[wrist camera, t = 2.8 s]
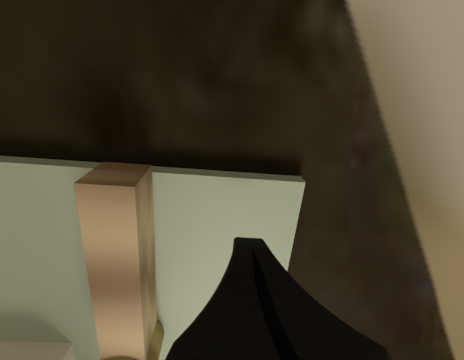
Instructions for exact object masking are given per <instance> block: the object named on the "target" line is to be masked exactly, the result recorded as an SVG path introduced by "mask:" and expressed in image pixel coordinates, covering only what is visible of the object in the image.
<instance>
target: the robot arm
mask: <svg viewBox="0 0 464 360" xmlns="http://www.w3.org/2000/svg"><path fill="white" fill-rule="evenodd" d="M165 360H393V358H392V357H391V355H390V354H389V352H388V351H387V349H386V348H385V347H383V346H381V345H380V344H378V343H376V342H375V341H373V340H371V339H370V338H368V337H366V336H365V335H363V334H361V333H360V332H358V331H356V330H355V329H353V328H352V327H350V326H349V325H348V324H346V323H345V322H343V321H342V320H340V319H339V318H337V317H336V316H335V315H333V314H332V313H331V312H329V311H328V310H327V309H326V308H324V307H323V306H322V305H321V304H319V303H318V302H317V301H316V300H315V299H314V298H312V297H311V296H310V295H309V294H308V293H307V292H306V291H305V290H304V289H303V288H302V287H301V286H300V285H299V284H298V283H297V282H296V281H295V280H294V279H293V278H292V277H291V276H290V274H289V273H288V272H287V271H286V270H285V268H284V267H283V266H282V265H281V263H280V262H279V261H278V260H277V258H276V257H275V256H274V254H273V253H272V252H271V250H270V249H269V247H268V246H267V244H266V243H265V242H264V240H263V239H262V238H245V237H236V238H234V242H233V252H232V255H231V258H230V261H229V264H228V266H227V269H226V271H225V273H224V275H223V277H222V279H221V281H220V283H219V285H218V287H217V289H216V290H215V292H214V294H213V295H212V297H211V298H210V300H209V301H208V303H207V304H206V306H205V307H204V308H203V310H202V311H201V312H200V313H199V315H198V316H197V317H196V318H195V320H194V321H193V322H192V323H191V324H190V326H189V327H188V328H187V329H186V330H185V331H184V332H183V333H182V334H181V335H180V336H179V337H178V338H177V339H176V340H175V341H174V343H173V345H172V346H171V348H170V350H169V352H168V354H167V356H166V359H165Z"/></svg>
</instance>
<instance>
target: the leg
mask: <svg viewBox="0 0 464 360" xmlns="http://www.w3.org/2000/svg"><path fill="white" fill-rule="evenodd" d="M74 190H75V196H76V203H77V209H78V216H79V222H80V229H81V236H82V242H83V249H84V255H85V262H86V268H87V275H88V281H89V288H90V294H91V301H92V307H93V314H94V320H95V327H96V333H97V340H98V347H99V353H100V360H159V356H160V351H161V347H162V342H163V338H164V330H163V328H162V326H161V325H160V324H159V323H158V322H157V313H156V280H155V248H154V216H153V184H152V165H145V164H130V163H116V162H102V163H100V164H99V165H98V166H96V167H95V168H94V169H92V170H91V171H89V172H88V173H87V174H85V175H84V176H83V177H81V178H80V179H79V180H77V181H76V182H74Z"/></svg>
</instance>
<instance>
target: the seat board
mask: <svg viewBox="0 0 464 360" xmlns="http://www.w3.org/2000/svg"><path fill="white" fill-rule="evenodd" d="M99 164H100V162H85V161H71V160H56V159H41V158H27V157H12V156H0V341H25V342H62V343H72V344H73V349H74V354H75V358H76V360H100V353H99V347H98V340H97V333H96V327H95V320H94V314H93V307H92V301H91V294H90V288H89V281H88V275H87V268H86V262H85V255H84V249H83V242H82V236H81V229H80V222H79V216H78V209H77V203H76V196H75V190H74V182H76V181H77V180H79V179H80V178H81V177H83V176H84V175H85V174H87V173H88V172H89V171H91V170H92V169H94V168H95V167H96V166H98V165H99ZM152 184H153V216H154V248H155V280H156V313H157V322H158V323H159V324H160V325H161V326H162V328H163V330H164V338H163V342H162V347H161V351H160V356H159V360H165V359H166V356H167V354H168V352H169V350H170V348H171V346H172V345H173V343H174V341H175V340H176V339H177V338H178V337H179V336H180V335H181V334H182V333H183V332H184V331H185V330H186V329H187V328H188V327H189V326H190V324H191V323H192V322H193V321H194V320H195V318H196V317H197V316H198V315H199V313H200V312H201V311H202V310H203V308H204V307H205V306H206V304H207V303H208V301H209V300H210V298H211V297H212V295H213V294H214V292H215V290H216V289H217V287H218V285H219V283H220V281H221V279H222V277H223V275H224V273H225V271H226V269H227V266H228V264H229V261H230V258H231V255H232V252H233V242H234V238H236V237H245V238H262V239H263V240H264V242H265V243H266V244H267V246H268V247H269V249H270V250H271V252H272V253H273V254H274V256H275V257H276V258H277V260H278V261H279V262H280V263H281V265H282V266H283V267H284V268H285V270H286V271H287V270H288V265H289V260H290V255H291V250H292V246H293V241H294V236H295V231H296V226H297V221H298V216H299V211H300V207H301V202H302V197H303V192H304V187H305V181H304V180H303V179H302V177H301V176H290V175H275V174H261V173H246V172H231V171H217V170H202V169H187V168H173V167H158V166H152Z"/></svg>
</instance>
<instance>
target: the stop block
mask: <svg viewBox="0 0 464 360" xmlns="http://www.w3.org/2000/svg"><path fill="white" fill-rule="evenodd" d="M0 360H76V358H75V354H74V349H73V344H72V343H62V342H25V341H0Z"/></svg>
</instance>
